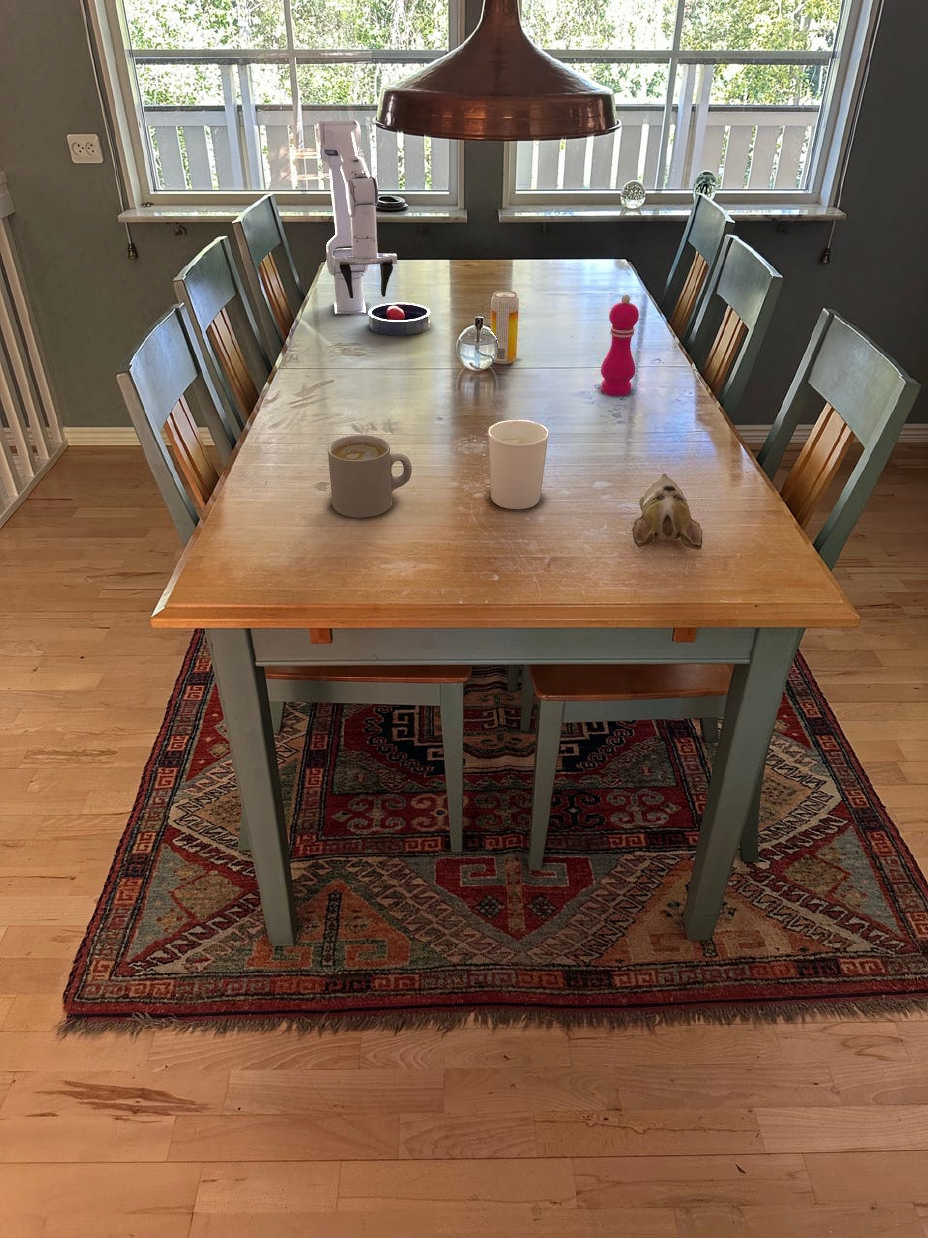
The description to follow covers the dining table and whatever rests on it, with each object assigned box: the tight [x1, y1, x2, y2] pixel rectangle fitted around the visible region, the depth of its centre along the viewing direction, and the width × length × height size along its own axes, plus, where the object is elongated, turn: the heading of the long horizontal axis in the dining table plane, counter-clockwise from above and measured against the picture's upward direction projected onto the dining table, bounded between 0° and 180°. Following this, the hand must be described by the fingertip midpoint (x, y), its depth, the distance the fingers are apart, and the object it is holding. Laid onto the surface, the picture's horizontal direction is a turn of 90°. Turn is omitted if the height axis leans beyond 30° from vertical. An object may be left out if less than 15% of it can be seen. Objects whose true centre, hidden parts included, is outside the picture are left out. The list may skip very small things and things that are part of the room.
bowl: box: [368, 302, 431, 337], centre depth 224 cm, size 15×15×4 cm
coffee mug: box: [327, 434, 413, 519], centre depth 146 cm, size 13×10×10 cm
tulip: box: [386, 306, 405, 321], centre depth 223 cm, size 11×4×4 cm, turn 27°
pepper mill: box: [600, 294, 640, 397], centre depth 186 cm, size 7×7×20 cm
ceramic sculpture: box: [631, 473, 703, 551], centre depth 139 cm, size 11×9×15 cm
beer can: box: [490, 289, 520, 365], centre depth 202 cm, size 6×6×15 cm
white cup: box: [487, 419, 550, 510], centre depth 148 cm, size 10×10×12 cm
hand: (367, 296), depth 213 cm, fingers open, 7 cm apart
